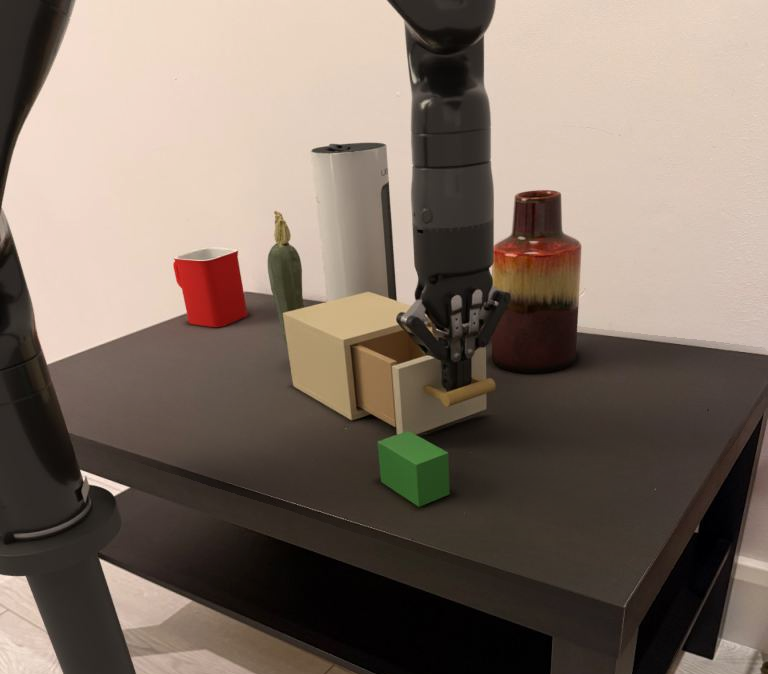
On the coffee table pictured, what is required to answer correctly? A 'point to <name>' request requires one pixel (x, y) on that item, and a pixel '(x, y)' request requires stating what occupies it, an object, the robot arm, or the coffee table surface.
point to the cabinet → (336, 345)
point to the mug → (211, 286)
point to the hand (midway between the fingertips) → (456, 392)
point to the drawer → (413, 384)
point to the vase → (537, 288)
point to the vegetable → (284, 272)
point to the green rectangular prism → (414, 468)
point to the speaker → (354, 219)
